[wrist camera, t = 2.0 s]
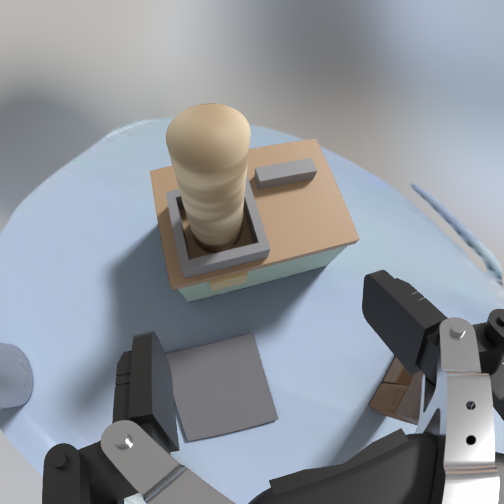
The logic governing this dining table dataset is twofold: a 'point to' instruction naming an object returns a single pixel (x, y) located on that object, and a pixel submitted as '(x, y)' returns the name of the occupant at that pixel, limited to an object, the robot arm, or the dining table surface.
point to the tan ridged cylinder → (211, 171)
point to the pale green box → (259, 223)
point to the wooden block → (399, 394)
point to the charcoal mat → (221, 387)
